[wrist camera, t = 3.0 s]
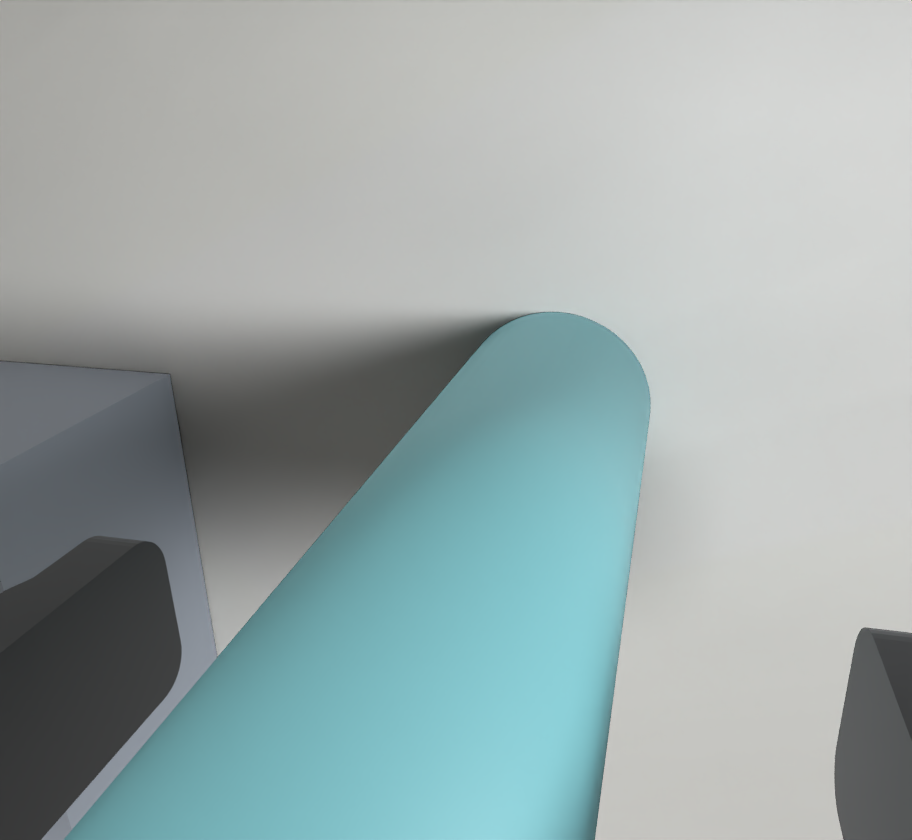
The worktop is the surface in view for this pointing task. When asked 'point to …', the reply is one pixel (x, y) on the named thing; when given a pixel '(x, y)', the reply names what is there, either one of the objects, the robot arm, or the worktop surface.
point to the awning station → (100, 502)
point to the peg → (430, 629)
